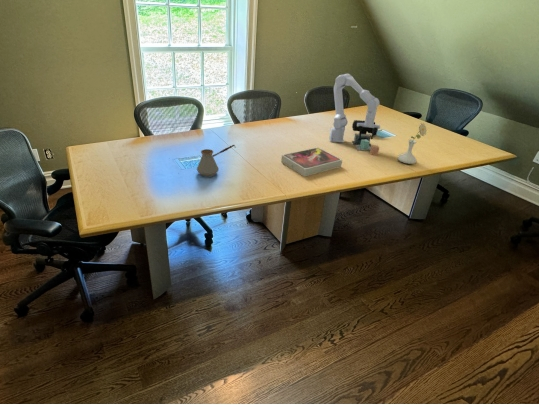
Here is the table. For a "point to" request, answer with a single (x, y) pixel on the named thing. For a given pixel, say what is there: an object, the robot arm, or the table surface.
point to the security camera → (364, 129)
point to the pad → (362, 149)
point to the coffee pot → (209, 162)
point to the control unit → (358, 140)
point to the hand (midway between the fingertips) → (365, 137)
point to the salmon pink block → (374, 150)
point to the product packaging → (311, 161)
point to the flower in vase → (408, 156)
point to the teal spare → (364, 144)
